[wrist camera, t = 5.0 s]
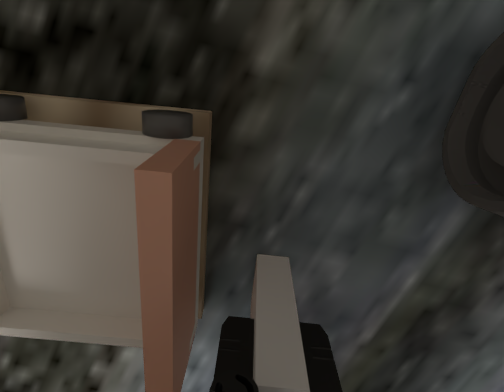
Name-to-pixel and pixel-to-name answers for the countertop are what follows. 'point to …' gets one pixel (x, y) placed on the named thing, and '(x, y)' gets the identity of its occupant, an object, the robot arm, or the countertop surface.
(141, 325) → the cart
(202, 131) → the cutting board
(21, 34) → the countertop surface
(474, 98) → the bluetooth speaker
